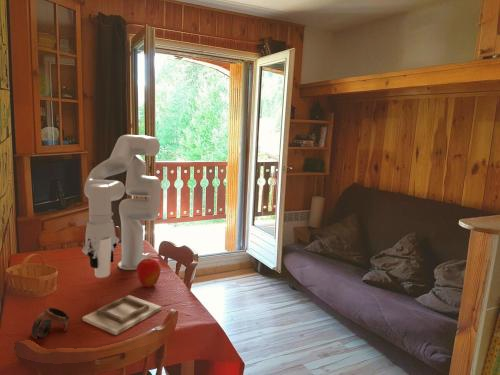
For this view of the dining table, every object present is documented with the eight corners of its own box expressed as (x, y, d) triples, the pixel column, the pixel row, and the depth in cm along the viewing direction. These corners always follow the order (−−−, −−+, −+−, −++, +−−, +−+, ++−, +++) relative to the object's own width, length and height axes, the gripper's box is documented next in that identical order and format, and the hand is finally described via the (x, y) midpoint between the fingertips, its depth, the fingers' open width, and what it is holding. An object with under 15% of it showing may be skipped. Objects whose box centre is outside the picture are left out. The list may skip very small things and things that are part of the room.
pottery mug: (33, 327, 117) (47, 303, 119) (62, 339, 119) (75, 315, 120) (20, 339, 105) (35, 311, 107) (51, 351, 107) (66, 324, 109)
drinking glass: (105, 280, 133) (104, 241, 131) (88, 277, 135) (87, 238, 132) (115, 272, 140) (114, 235, 137) (99, 270, 141) (98, 233, 138)
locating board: (129, 298, 139) (129, 291, 139) (161, 309, 131) (161, 302, 131) (82, 320, 122) (82, 312, 121) (116, 335, 114) (116, 327, 114)
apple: (164, 284, 152) (164, 256, 151) (150, 292, 144) (150, 263, 142) (147, 279, 156) (147, 252, 154) (131, 287, 148) (131, 258, 146)
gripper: (112, 211, 142) (114, 255, 146) (72, 221, 127) (74, 269, 131) (126, 214, 139) (127, 259, 142) (86, 225, 124) (88, 275, 127)
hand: (102, 263), depth 136 cm, fingers closed on drinking glass, 6 cm apart
